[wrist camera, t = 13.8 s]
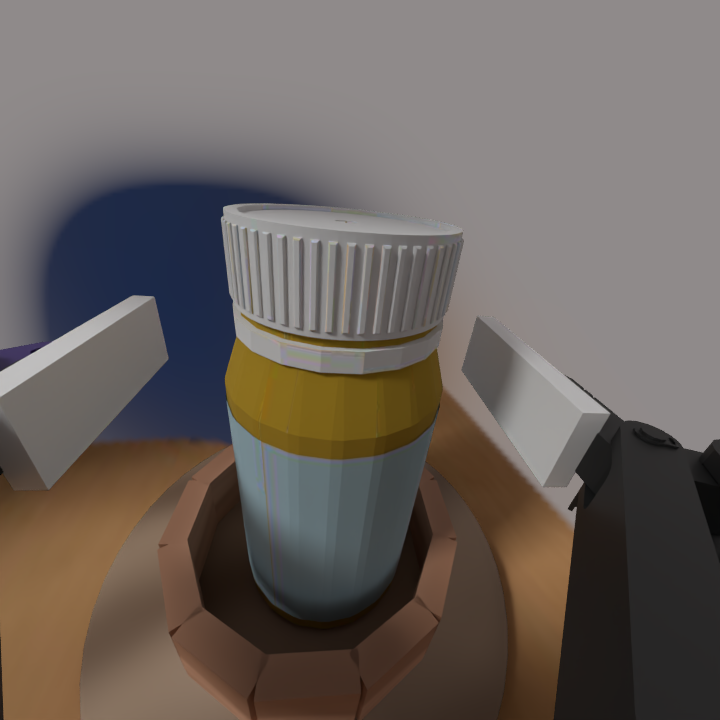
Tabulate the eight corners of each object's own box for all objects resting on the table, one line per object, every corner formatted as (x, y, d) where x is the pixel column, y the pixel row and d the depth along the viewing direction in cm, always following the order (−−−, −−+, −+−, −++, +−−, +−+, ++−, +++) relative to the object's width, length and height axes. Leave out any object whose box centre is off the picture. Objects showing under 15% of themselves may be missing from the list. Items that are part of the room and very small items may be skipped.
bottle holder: (94, 503, 18) (68, 451, 16) (360, 409, 27) (364, 369, 25) (71, 1362, 5) (-70, 1627, 3) (580, 624, 15) (622, 577, 13)
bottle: (364, 675, 12) (465, 257, 4) (216, 584, 14) (123, 202, 7) (412, 518, 17) (491, 225, 10) (303, 472, 20) (303, 201, 12)
